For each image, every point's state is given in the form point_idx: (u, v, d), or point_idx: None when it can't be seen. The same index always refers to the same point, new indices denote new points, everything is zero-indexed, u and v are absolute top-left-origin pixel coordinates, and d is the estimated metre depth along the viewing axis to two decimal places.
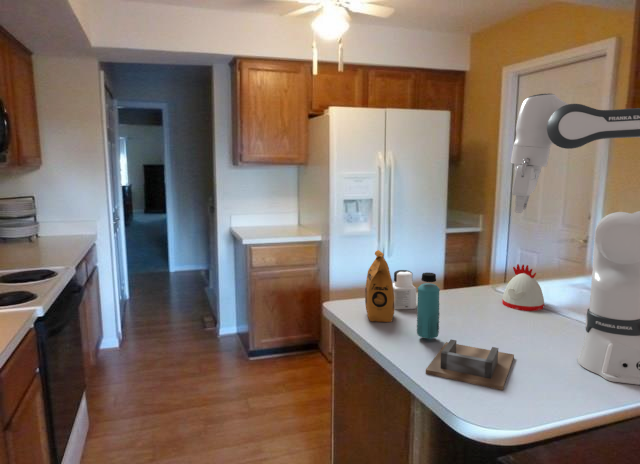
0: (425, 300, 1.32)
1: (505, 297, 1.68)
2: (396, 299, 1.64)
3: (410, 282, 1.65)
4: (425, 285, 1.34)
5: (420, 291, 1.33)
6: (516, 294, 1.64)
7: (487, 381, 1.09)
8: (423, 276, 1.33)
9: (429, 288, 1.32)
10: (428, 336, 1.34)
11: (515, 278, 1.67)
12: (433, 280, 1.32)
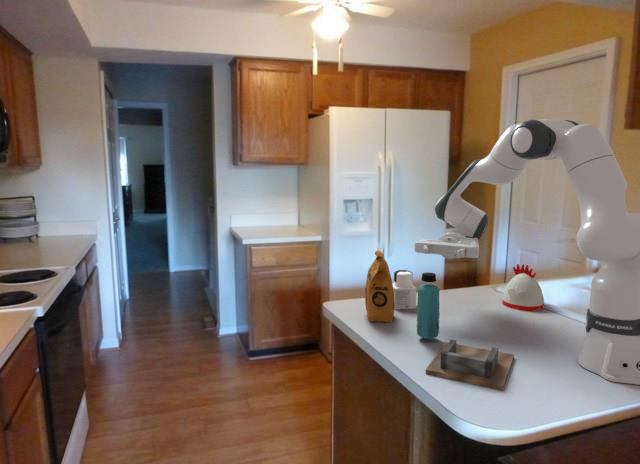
0: (425, 300, 1.32)
1: (505, 297, 1.68)
2: (396, 299, 1.64)
3: (410, 282, 1.65)
4: (425, 285, 1.34)
5: (420, 291, 1.33)
6: (516, 294, 1.64)
7: (487, 381, 1.09)
8: (423, 276, 1.33)
9: (429, 288, 1.32)
10: (428, 336, 1.34)
11: (515, 278, 1.67)
12: (433, 280, 1.32)
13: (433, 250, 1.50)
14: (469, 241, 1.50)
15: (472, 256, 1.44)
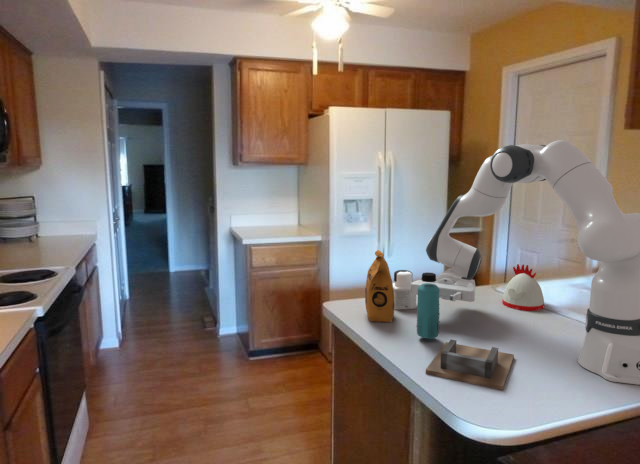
0: (425, 300, 1.32)
1: (505, 297, 1.68)
2: (396, 299, 1.64)
3: (410, 282, 1.65)
4: (425, 285, 1.34)
5: (420, 291, 1.33)
6: (516, 294, 1.64)
7: (487, 381, 1.09)
8: (423, 276, 1.33)
9: (429, 288, 1.32)
10: (428, 336, 1.34)
11: (515, 278, 1.67)
12: (433, 280, 1.32)
13: None
14: (465, 283, 1.48)
15: (468, 300, 1.43)
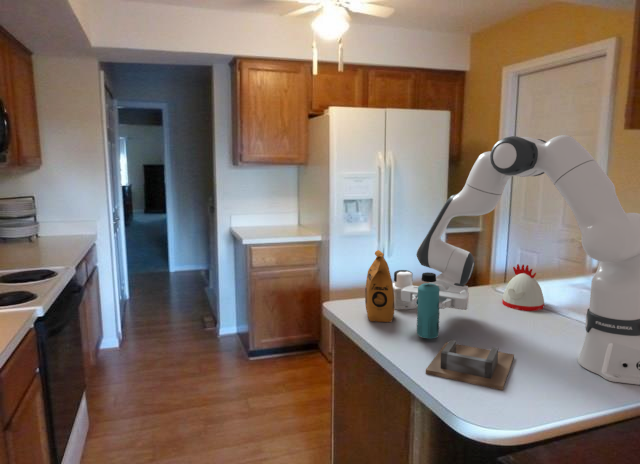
0: (425, 300, 1.32)
1: (505, 297, 1.68)
2: (396, 299, 1.64)
3: (410, 282, 1.65)
4: (425, 285, 1.34)
5: (420, 291, 1.33)
6: (516, 294, 1.64)
7: (487, 381, 1.09)
8: (423, 276, 1.33)
9: (429, 288, 1.32)
10: (428, 336, 1.34)
11: (515, 278, 1.67)
12: (433, 280, 1.32)
13: None
14: (458, 290, 1.40)
15: (461, 308, 1.35)
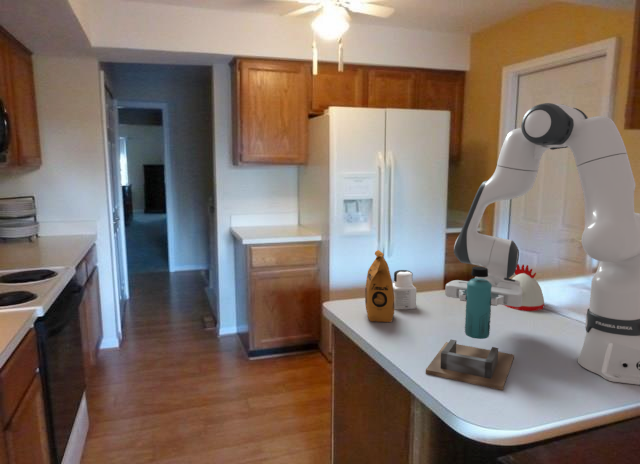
0: (476, 296, 1.20)
1: None
2: (396, 299, 1.64)
3: (410, 282, 1.65)
4: (476, 280, 1.22)
5: (471, 287, 1.21)
6: None
7: (487, 381, 1.09)
8: (474, 270, 1.21)
9: (481, 284, 1.20)
10: (479, 336, 1.22)
11: (515, 278, 1.67)
12: (485, 275, 1.20)
13: None
14: (510, 285, 1.28)
15: (515, 305, 1.22)
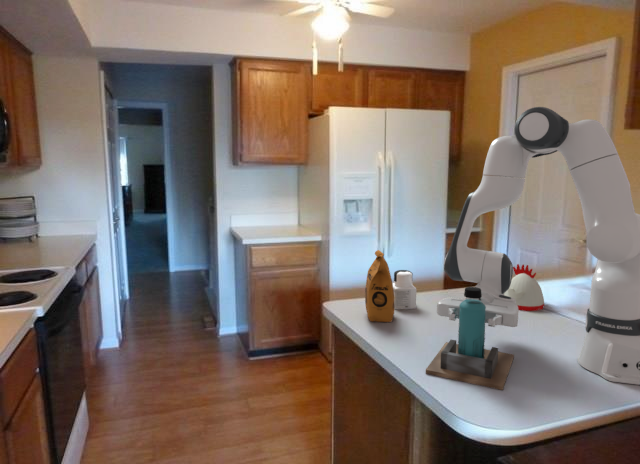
0: (469, 319, 1.13)
1: None
2: (396, 299, 1.64)
3: (410, 282, 1.65)
4: (469, 302, 1.15)
5: (463, 309, 1.14)
6: (516, 294, 1.64)
7: (487, 381, 1.09)
8: (466, 291, 1.14)
9: (474, 305, 1.13)
10: None
11: (515, 278, 1.67)
12: (479, 296, 1.13)
13: None
14: (505, 303, 1.21)
15: (511, 325, 1.15)
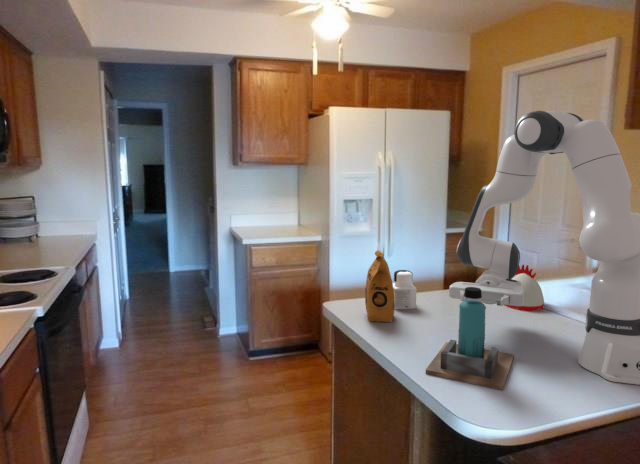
0: (469, 319, 1.13)
1: None
2: (396, 299, 1.64)
3: (410, 282, 1.65)
4: (469, 302, 1.15)
5: (463, 309, 1.14)
6: None
7: (487, 381, 1.09)
8: (467, 291, 1.14)
9: (474, 306, 1.13)
10: None
11: (515, 278, 1.67)
12: (479, 296, 1.13)
13: None
14: (511, 285, 1.32)
15: (517, 304, 1.26)
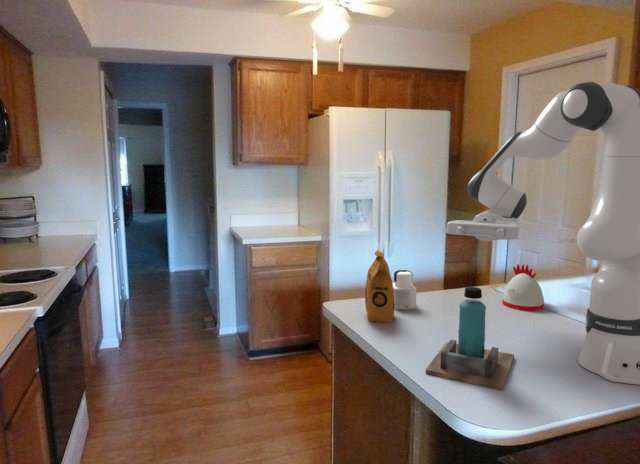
0: (469, 319, 1.13)
1: (505, 297, 1.68)
2: (396, 299, 1.64)
3: (410, 282, 1.65)
4: (469, 302, 1.15)
5: (464, 309, 1.14)
6: (516, 294, 1.64)
7: (487, 381, 1.09)
8: (467, 291, 1.14)
9: (474, 306, 1.13)
10: None
11: (515, 278, 1.67)
12: (479, 296, 1.13)
13: (468, 231, 1.37)
14: (507, 221, 1.37)
15: (512, 237, 1.31)
